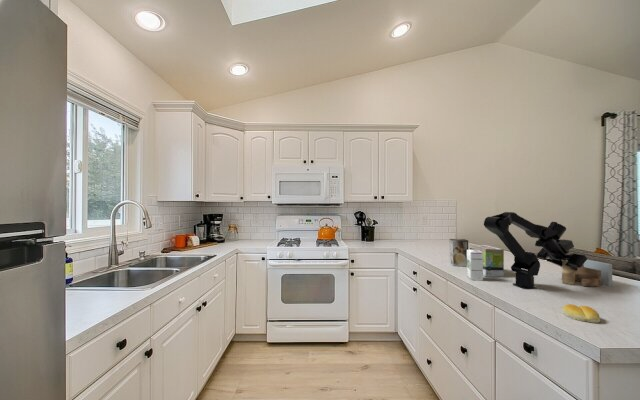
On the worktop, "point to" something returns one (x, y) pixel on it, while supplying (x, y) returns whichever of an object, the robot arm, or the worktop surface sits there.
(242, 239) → the worktop surface
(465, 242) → the coffee box
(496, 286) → the worktop surface
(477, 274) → the syrup box
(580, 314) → the bread roll
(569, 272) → the dowel
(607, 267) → the backstop wall
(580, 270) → the cradle
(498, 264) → the tea box
